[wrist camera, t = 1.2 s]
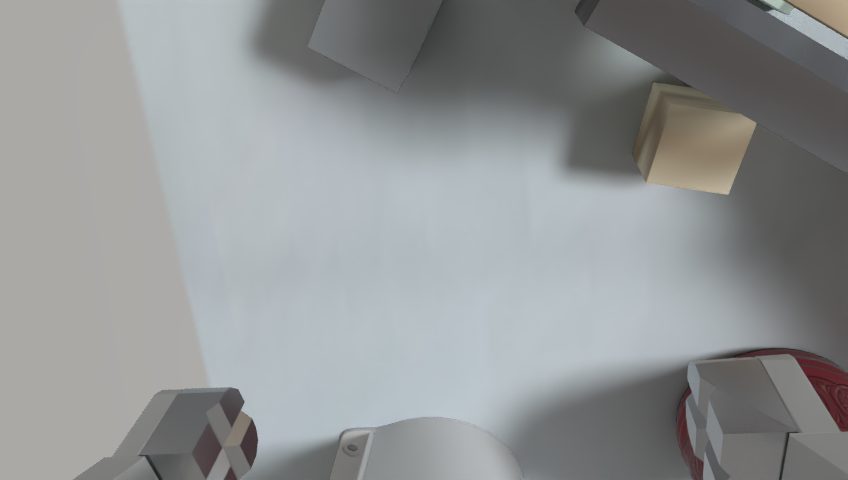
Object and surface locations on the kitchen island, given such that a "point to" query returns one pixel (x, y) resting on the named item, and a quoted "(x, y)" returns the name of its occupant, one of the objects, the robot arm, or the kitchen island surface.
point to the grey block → (374, 36)
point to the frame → (781, 38)
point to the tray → (779, 6)
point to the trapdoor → (735, 66)
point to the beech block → (690, 140)
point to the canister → (832, 384)
